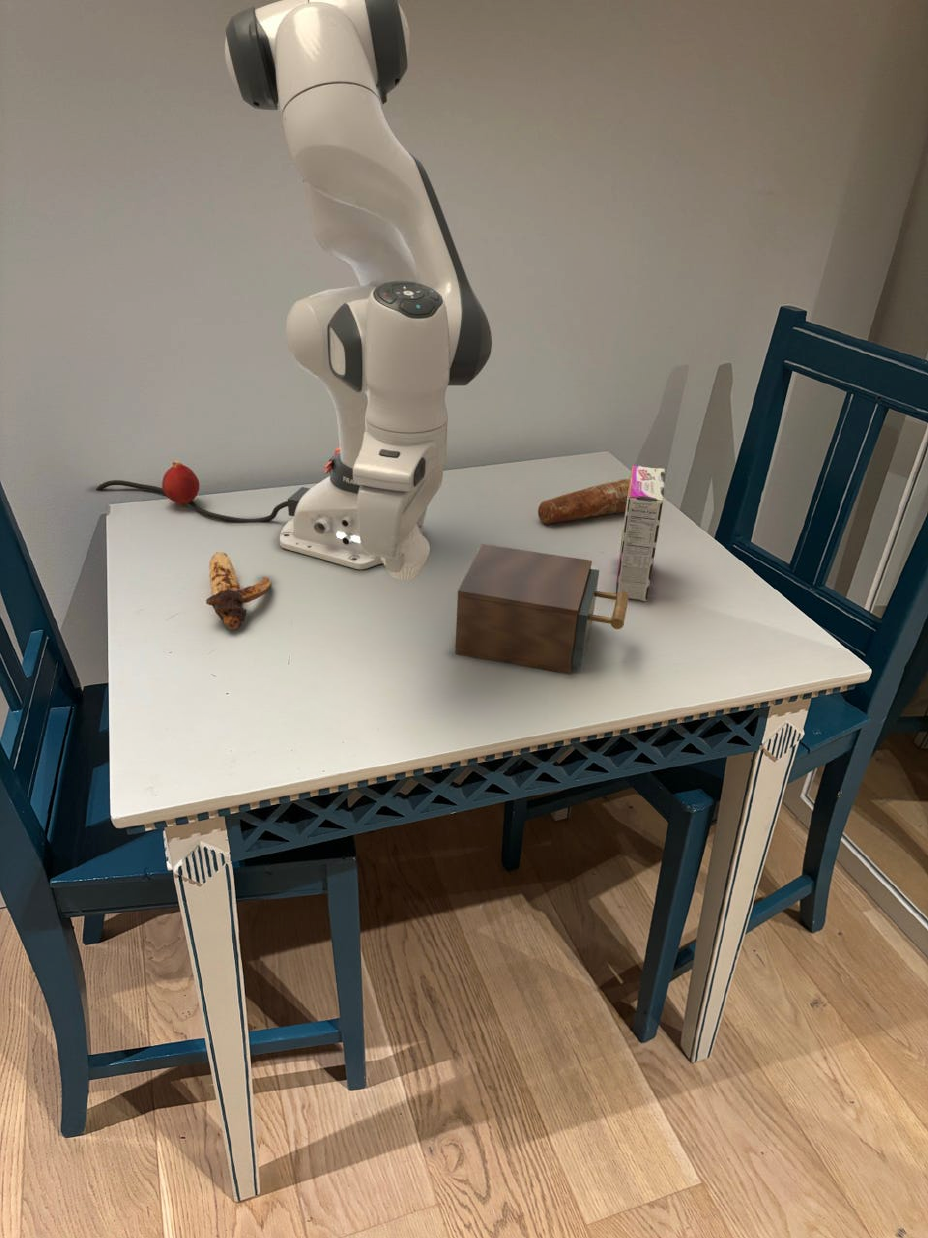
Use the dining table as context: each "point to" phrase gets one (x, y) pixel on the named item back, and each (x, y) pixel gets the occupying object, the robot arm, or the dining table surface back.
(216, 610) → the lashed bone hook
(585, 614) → the drawer
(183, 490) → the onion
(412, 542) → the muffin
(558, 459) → the dining table surface
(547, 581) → the cabinet
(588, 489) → the bread
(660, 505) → the candy bar box
